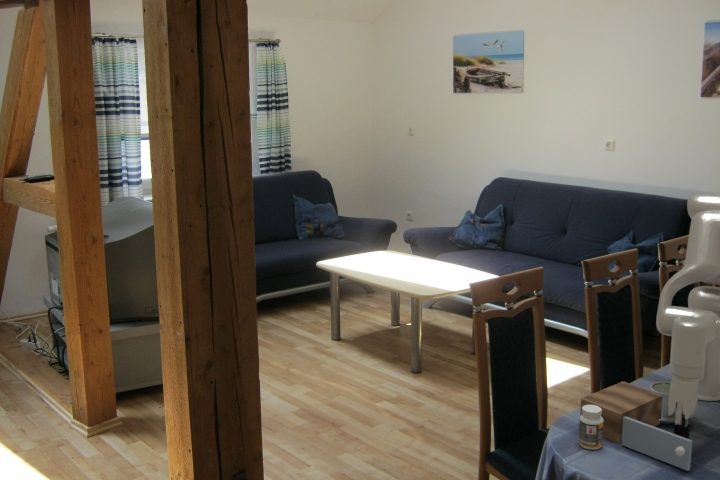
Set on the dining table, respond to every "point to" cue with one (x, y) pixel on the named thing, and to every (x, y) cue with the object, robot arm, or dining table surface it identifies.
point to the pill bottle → (591, 427)
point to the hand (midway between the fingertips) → (681, 439)
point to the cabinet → (624, 407)
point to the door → (657, 443)
